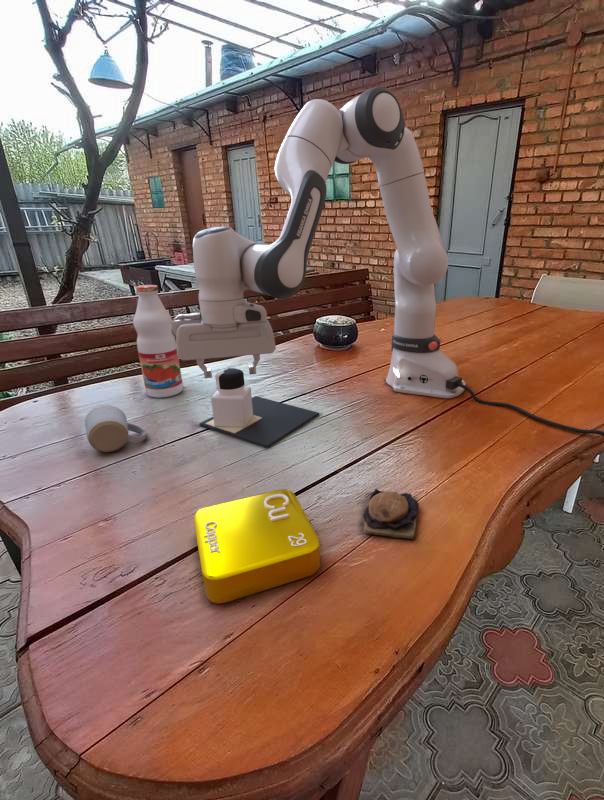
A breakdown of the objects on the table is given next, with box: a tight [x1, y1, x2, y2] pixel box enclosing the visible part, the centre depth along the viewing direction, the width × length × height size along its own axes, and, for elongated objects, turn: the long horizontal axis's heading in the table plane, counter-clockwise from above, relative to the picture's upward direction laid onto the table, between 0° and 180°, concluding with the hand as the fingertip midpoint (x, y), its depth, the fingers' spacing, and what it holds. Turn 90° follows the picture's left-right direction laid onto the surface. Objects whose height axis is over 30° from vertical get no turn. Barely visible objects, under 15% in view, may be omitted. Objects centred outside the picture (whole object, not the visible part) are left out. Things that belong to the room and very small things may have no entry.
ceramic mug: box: [84, 404, 147, 453], centre depth 87 cm, size 11×8×8 cm
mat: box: [198, 395, 320, 449], centre depth 99 cm, size 20×19×1 cm
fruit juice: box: [132, 284, 184, 399], centre depth 110 cm, size 9×9×28 cm
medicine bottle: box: [210, 367, 253, 427], centre depth 95 cm, size 7×7×12 cm
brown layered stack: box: [362, 488, 419, 540], centre depth 67 cm, size 11×8×4 cm
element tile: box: [193, 488, 321, 605], centre depth 59 cm, size 15×15×5 cm
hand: (230, 375), depth 93 cm, fingers open, 8 cm apart
